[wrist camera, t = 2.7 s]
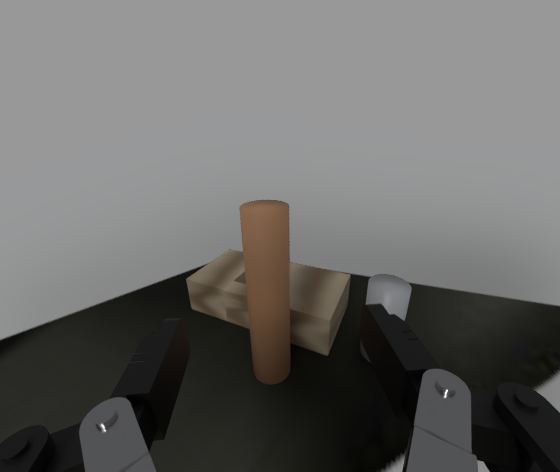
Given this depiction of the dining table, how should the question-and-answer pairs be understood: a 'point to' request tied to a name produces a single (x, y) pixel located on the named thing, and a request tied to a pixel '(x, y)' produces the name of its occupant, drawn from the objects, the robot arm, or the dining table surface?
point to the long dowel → (267, 286)
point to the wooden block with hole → (303, 298)
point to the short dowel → (388, 296)
